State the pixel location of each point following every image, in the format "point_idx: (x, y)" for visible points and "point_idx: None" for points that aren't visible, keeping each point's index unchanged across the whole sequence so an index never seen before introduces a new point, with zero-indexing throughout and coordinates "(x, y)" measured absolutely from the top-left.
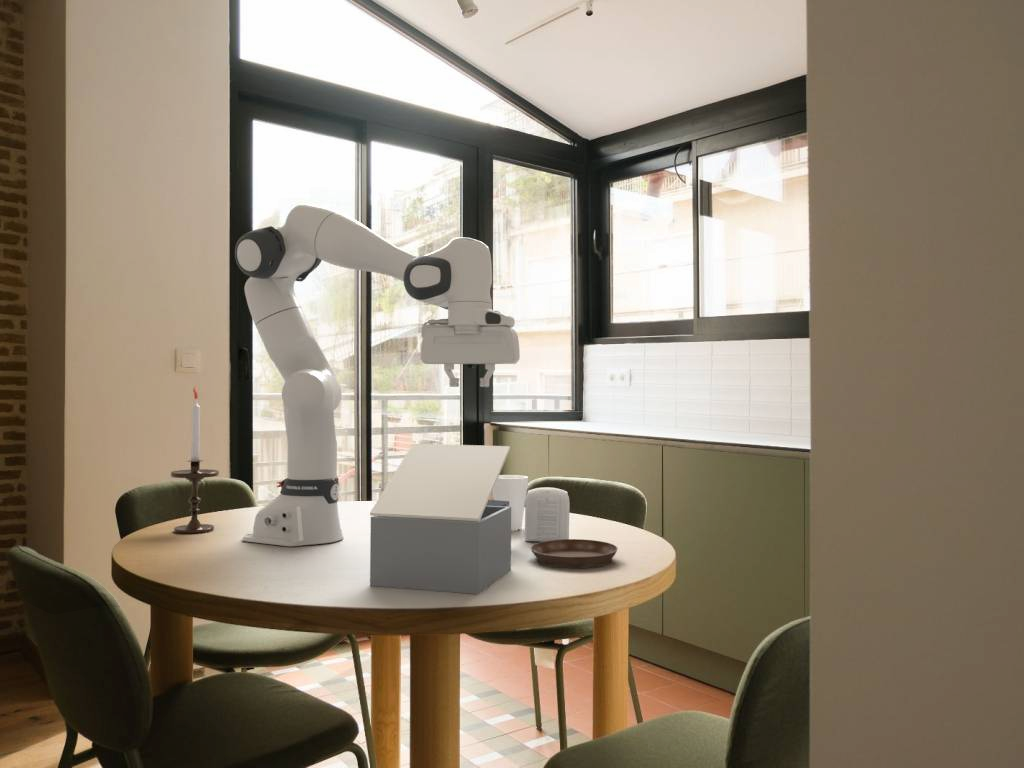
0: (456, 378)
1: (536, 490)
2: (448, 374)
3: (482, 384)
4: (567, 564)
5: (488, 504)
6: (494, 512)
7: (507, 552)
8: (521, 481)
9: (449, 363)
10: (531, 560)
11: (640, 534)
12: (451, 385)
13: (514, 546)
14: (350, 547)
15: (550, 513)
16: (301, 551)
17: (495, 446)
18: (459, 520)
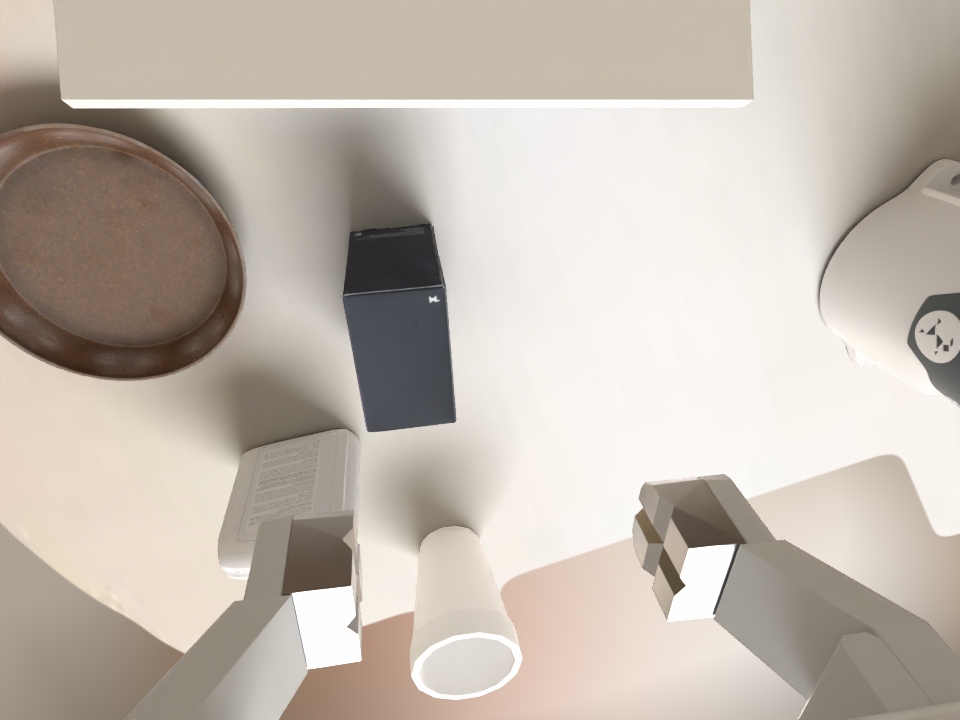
0: (683, 552)
1: None
2: (815, 571)
3: (318, 521)
4: (70, 136)
5: (395, 322)
6: None
7: None
8: (420, 646)
9: (923, 705)
10: (234, 210)
11: (113, 595)
12: (703, 476)
13: None
14: (780, 213)
15: (274, 492)
16: (903, 116)
17: (172, 90)
18: None
